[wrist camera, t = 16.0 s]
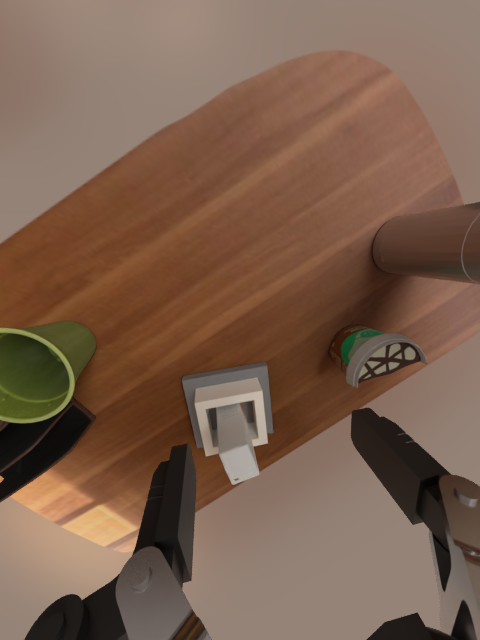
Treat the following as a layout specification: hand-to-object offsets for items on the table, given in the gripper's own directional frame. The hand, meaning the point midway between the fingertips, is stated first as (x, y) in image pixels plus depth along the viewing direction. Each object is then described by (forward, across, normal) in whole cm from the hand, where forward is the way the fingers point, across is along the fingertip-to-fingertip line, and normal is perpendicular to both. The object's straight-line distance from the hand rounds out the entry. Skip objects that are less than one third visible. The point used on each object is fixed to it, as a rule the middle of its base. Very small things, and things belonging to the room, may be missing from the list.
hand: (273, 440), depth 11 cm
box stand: (+28, +2, +19) cm, 34 cm away
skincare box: (+27, +2, +19) cm, 33 cm away
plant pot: (+28, +25, +2) cm, 38 cm away
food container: (+28, -22, +9) cm, 37 cm away
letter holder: (+28, +37, +17) cm, 49 cm away
